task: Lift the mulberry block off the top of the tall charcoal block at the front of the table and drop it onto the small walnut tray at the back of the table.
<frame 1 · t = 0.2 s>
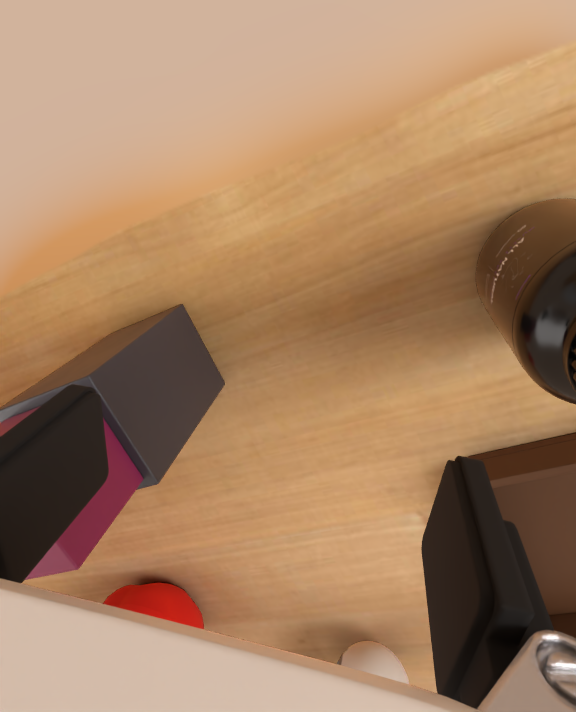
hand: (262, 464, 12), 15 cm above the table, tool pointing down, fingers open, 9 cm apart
tomato: (164, 596, 40), on the table
bottom block: (167, 358, 29), on the table, touching top block
top block: (75, 448, 20), point 10 cm above the table, touching bottom block
supplement bottle: (541, 266, 23), on the table
figurine: (372, 641, 38), on the table
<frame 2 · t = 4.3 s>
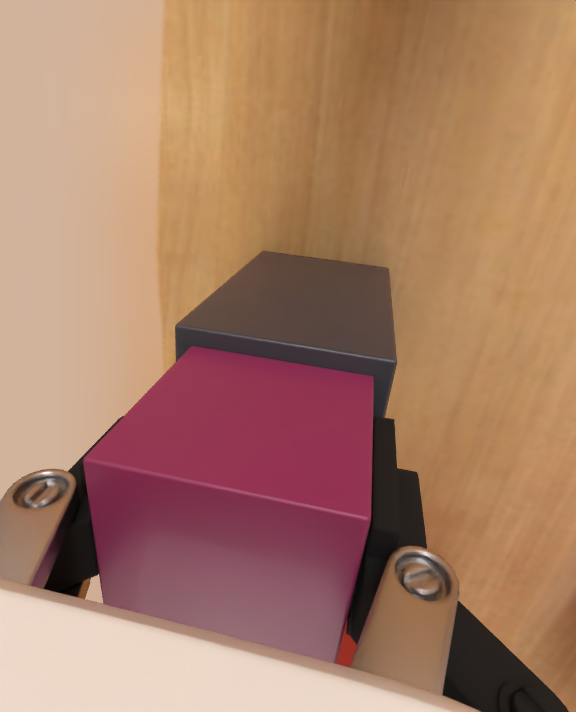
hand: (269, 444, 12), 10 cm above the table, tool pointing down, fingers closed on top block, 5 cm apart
bottom block: (316, 318, 22), on the table, touching top block
beer can: (387, 571, 28), on the table
top block: (273, 435, 13), point 10 cm above the table, touching bottom block, gripper
when the fingers open (1 cm above the table, at t = 14.1 s): top block stays where it is, resting on tray.
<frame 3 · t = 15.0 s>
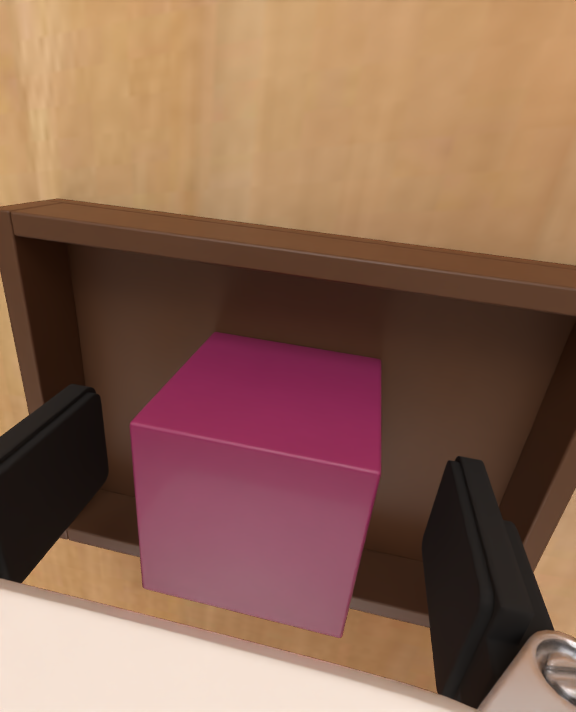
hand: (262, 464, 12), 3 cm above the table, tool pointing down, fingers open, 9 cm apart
top block: (287, 415, 14), point 1 cm above the table, touching tray
tray: (290, 404, 14), on the table
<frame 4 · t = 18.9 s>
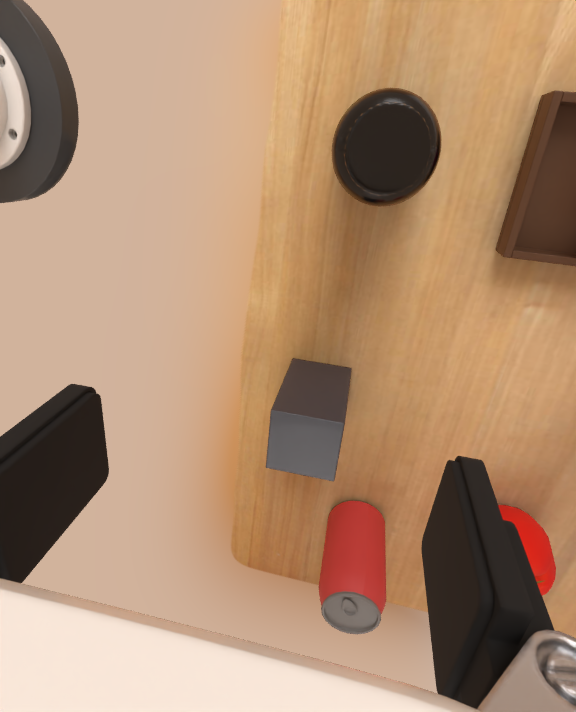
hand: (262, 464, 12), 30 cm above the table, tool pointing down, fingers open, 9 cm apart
tomato: (491, 524, 48), on the table
bottom block: (318, 388, 45), on the table
beer can: (356, 517, 52), on the table
supplement bottle: (383, 149, 35), on the table
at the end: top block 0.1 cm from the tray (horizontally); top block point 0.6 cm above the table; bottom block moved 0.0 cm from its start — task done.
